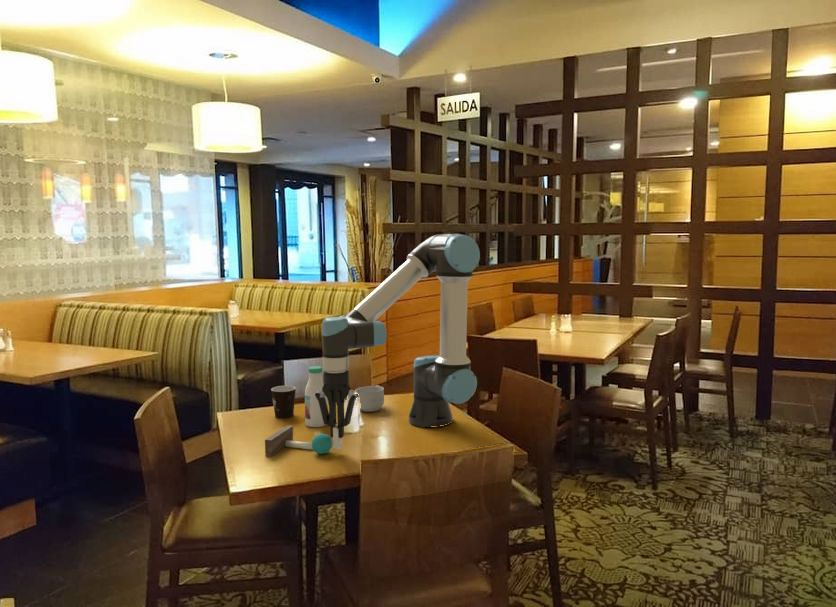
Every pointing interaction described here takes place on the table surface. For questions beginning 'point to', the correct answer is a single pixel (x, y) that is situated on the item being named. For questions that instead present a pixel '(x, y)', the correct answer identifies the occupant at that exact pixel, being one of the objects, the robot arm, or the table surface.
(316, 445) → the ball
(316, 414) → the milk bottle
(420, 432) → the table surface
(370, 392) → the teacup
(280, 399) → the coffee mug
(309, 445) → the pin
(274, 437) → the back wall
